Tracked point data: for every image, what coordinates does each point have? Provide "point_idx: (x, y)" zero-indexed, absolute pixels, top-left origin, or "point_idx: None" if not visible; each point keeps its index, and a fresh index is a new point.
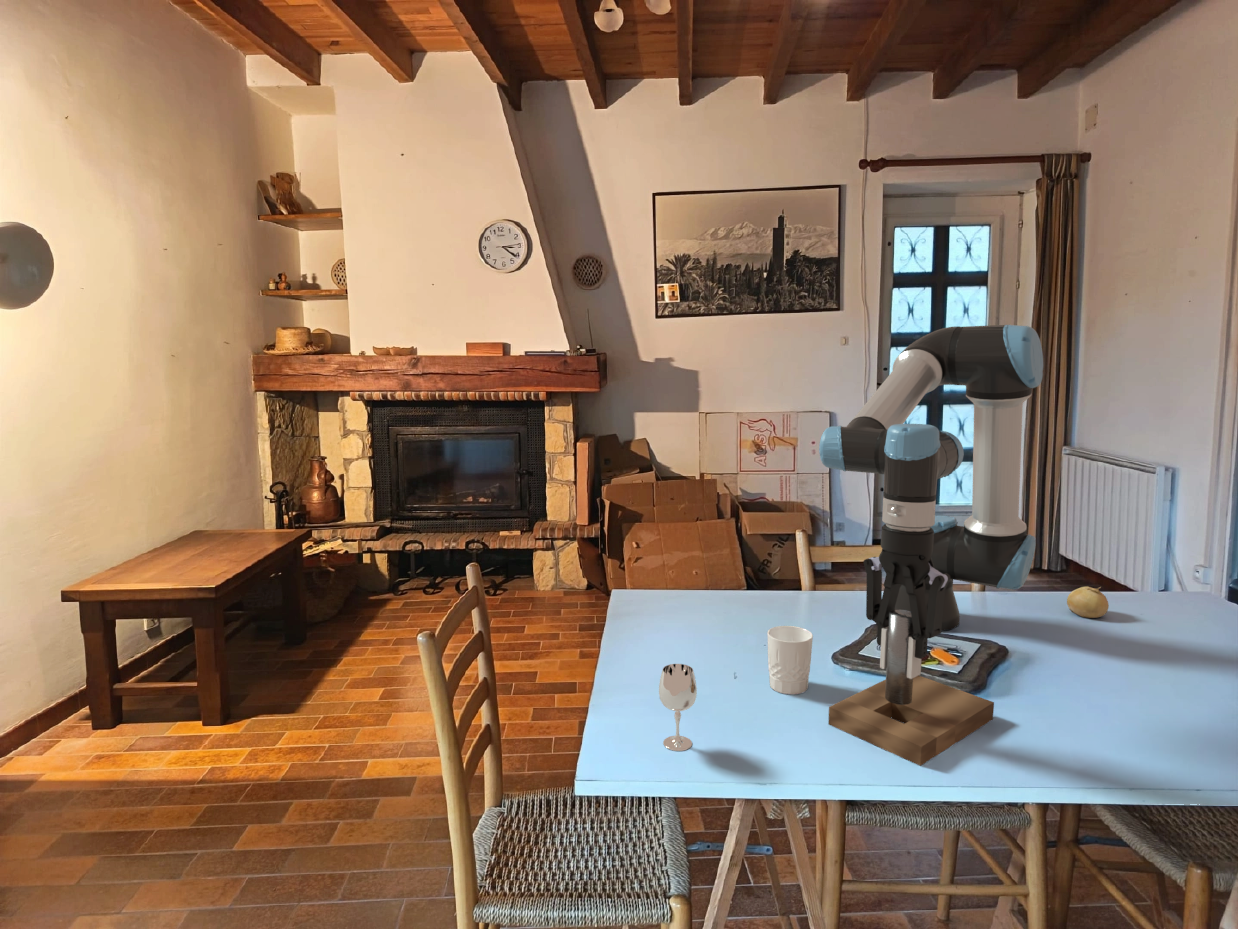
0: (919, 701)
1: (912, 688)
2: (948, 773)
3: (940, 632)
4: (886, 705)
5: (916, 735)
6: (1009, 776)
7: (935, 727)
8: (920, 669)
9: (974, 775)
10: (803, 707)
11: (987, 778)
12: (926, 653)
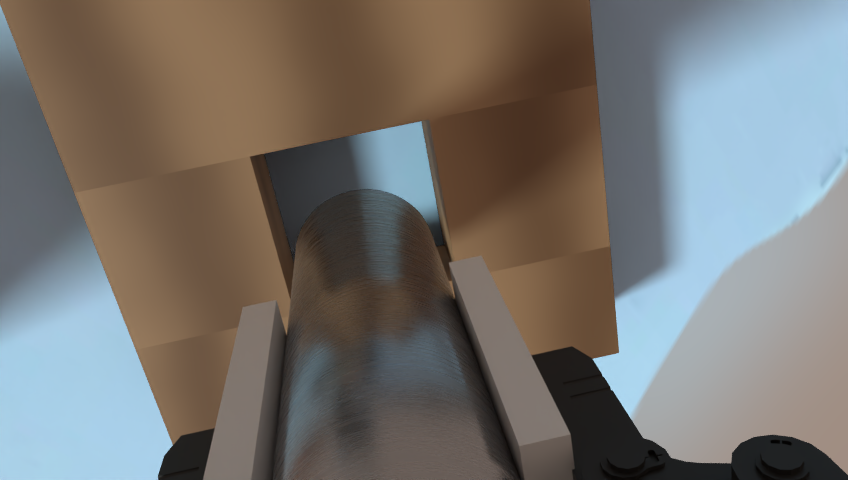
0: (321, 28)
1: (433, 247)
2: (674, 262)
3: (820, 459)
4: (265, 205)
5: (552, 306)
6: (822, 83)
7: (554, 183)
8: (488, 274)
9: (737, 193)
10: (10, 402)
11: (776, 168)
12: (595, 366)
